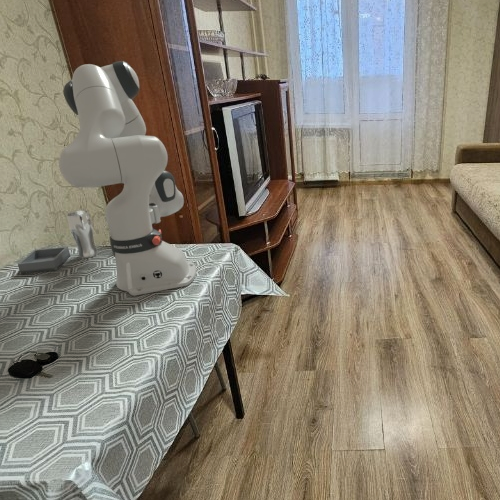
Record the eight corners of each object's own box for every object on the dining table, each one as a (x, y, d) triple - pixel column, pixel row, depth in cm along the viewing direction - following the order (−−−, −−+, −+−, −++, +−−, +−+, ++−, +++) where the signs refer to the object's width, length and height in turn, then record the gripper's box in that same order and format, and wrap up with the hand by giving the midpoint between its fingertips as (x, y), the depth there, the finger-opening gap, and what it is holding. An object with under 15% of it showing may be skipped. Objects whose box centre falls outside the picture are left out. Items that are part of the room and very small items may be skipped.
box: (70, 255, 129) (67, 246, 127) (57, 270, 118) (53, 260, 117) (37, 259, 128) (34, 249, 127) (21, 274, 118) (17, 264, 117)
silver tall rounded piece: (84, 250, 132) (73, 209, 126) (103, 250, 131) (92, 209, 125) (73, 259, 126) (60, 216, 120) (92, 259, 124) (81, 215, 118)
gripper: (129, 199, 147) (95, 209, 137) (160, 206, 133) (125, 217, 124) (132, 214, 149) (100, 225, 140) (163, 223, 136) (129, 235, 127)
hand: (112, 221), depth 132 cm, fingers open, 8 cm apart
